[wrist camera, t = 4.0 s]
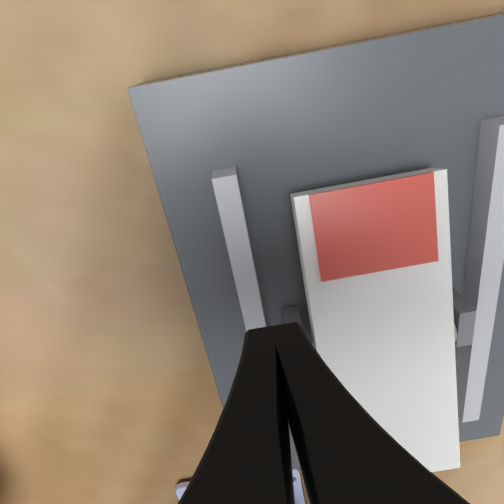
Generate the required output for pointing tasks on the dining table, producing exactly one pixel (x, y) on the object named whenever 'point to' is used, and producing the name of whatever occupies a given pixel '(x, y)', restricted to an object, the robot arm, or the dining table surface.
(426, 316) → the rocker paddle
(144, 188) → the dining table surface
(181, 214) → the switch panel
